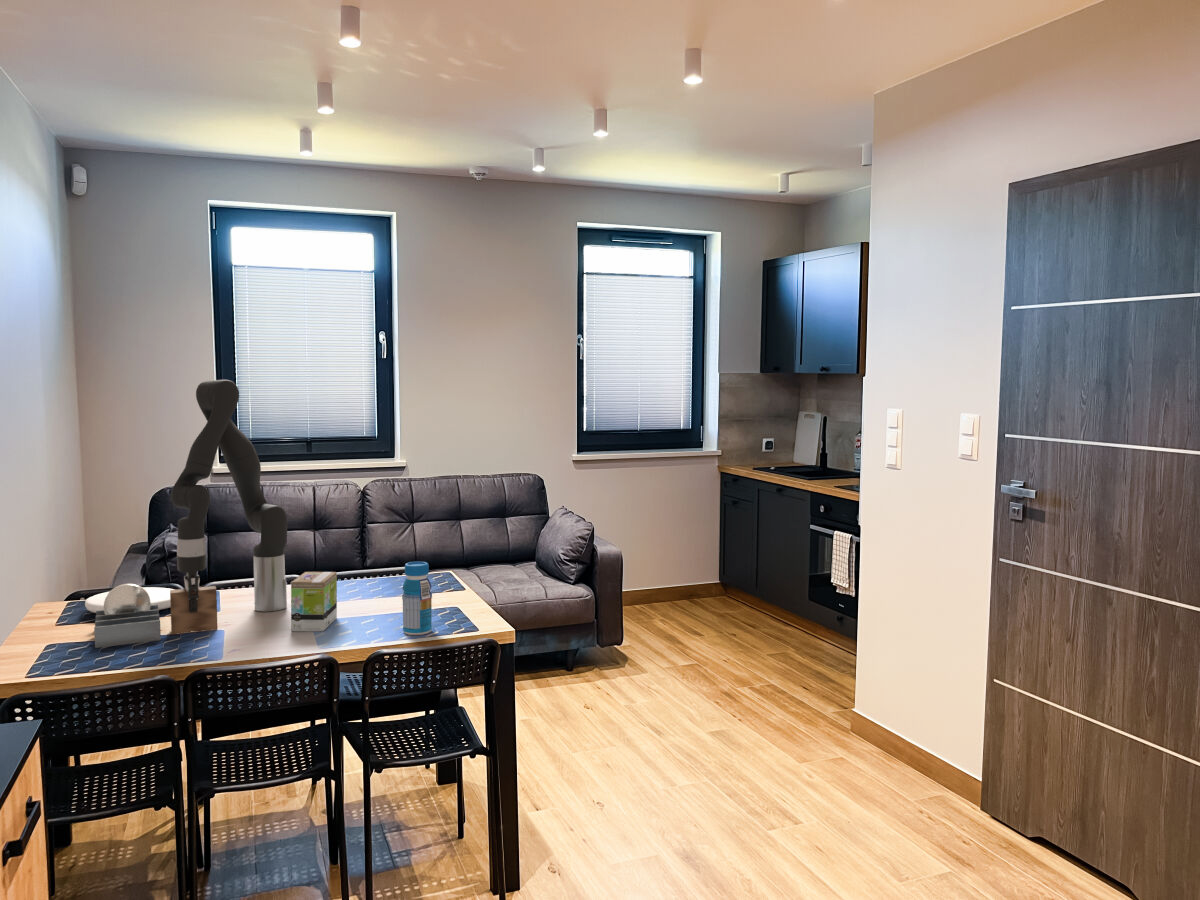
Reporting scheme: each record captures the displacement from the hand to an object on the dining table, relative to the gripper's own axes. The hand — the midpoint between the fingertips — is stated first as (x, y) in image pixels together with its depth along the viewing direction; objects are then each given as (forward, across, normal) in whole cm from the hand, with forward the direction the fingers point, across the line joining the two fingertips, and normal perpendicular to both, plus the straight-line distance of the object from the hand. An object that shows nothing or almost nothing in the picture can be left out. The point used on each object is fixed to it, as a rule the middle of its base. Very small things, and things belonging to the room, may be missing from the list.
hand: (192, 608), depth 259 cm
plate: (+7, +34, +15) cm, 38 cm away
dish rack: (+6, +3, +17) cm, 18 cm away
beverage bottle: (+6, -31, -58) cm, 66 cm away
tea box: (+6, -10, -32) cm, 34 cm away
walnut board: (+6, 0, 0) cm, 6 cm away
